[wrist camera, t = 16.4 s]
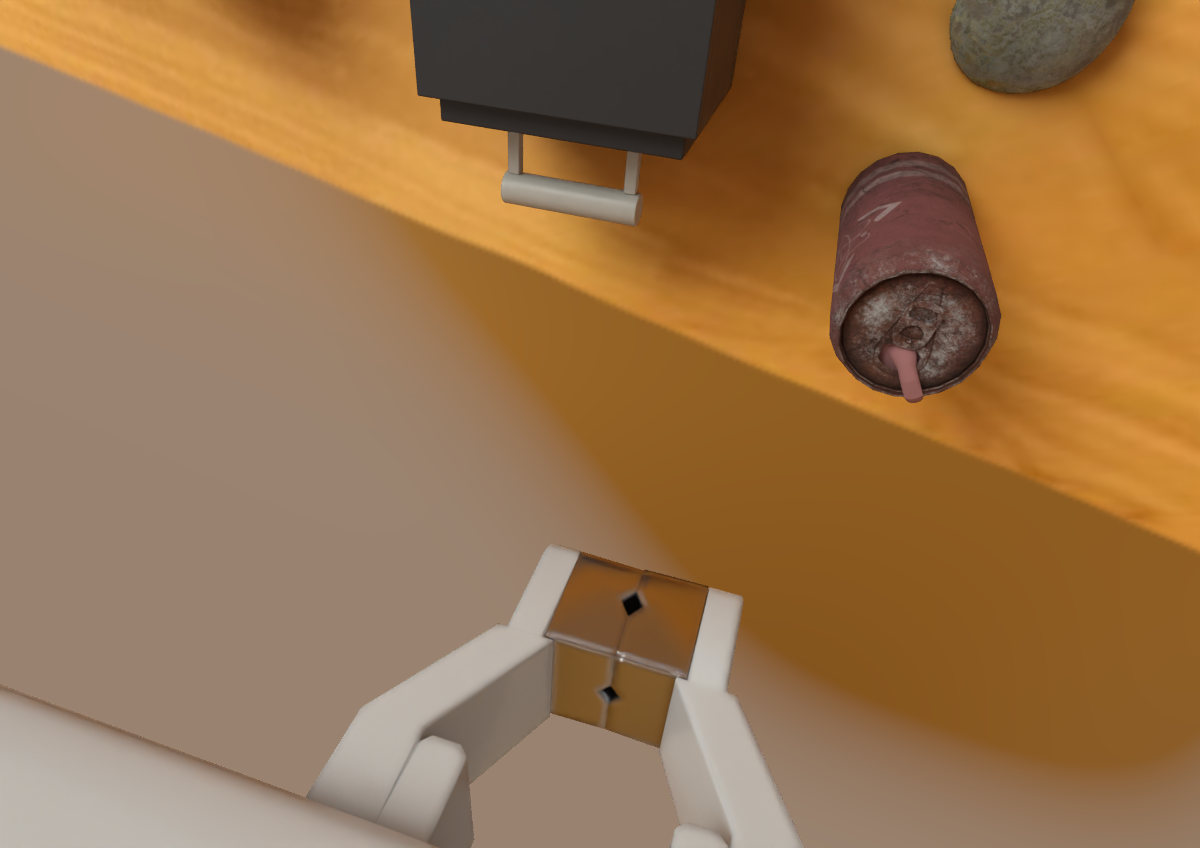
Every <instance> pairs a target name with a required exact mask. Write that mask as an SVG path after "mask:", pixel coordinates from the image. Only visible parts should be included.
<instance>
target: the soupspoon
mask: <svg viewBox="0 0 1200 848" xmlns="http://www.w3.org/2000/svg"><path fill="white" fill-rule="evenodd" d="M1134 1H1135V0H957V1H956V5H955V6H954V8H953V11H952V13H951V19H950V40H951V50H952V52H953V55H954V59H955V61H956V62H957V64H958V65H959V67H960V68H961V70H962V71H963V73H964V74H966V75H967V77H968V78H969V79H970V80H971V81H972V82H974V83H976V84H978V85H979V86H982V87H984V88H987V89H990V90H992V91H996V92H1004V93H1030V92H1036V91H1040V90H1044V89H1047V88H1050V87H1053V86H1056V85H1058V84H1060V83H1062V82H1064V81H1066V80H1068V79H1070V78H1071V77H1073V76H1075V75H1076V74H1078V73H1079V72H1080V71H1082V70H1083V69H1084V68H1086V67H1087V66H1088V65H1089V64H1090V63H1092V62H1093V61H1094V60H1095V59H1096V58H1097V57H1098V56H1099V55H1100V54H1101V53H1102V52H1103V51H1104V49H1105V48H1106V47H1107V46H1108V45H1109V43H1110V42H1111V41H1112V40H1113V39H1114V37H1115V36H1116V35H1117V34H1118V32H1119V30H1120V28H1121V27H1122V25H1123V24H1124V22H1125V20H1126V19H1127V17H1128V15H1129V13H1130V10H1131V9H1132V6H1133V4H1134Z"/></svg>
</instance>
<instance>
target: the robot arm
mask: <svg viewBox="0 0 1200 848" xmlns="http://www.w3.org/2000/svg"><path fill="white" fill-rule="evenodd" d="M707 591H708V592H707ZM742 607H743V597H742V596H739V595H736V594H732V593H728V592H725V591H721V590H718V589H714V588H709V589H708V586H705V585H701V584H698V583H694V582H690V581H686V580H682V579H678V578H675V577H671V576H667V575H663V574H660V573H656V572H652V571H648V570H641V569H637V568H634V567H631V566H627V565H624V564H621V563H618V562H614V561H611V560H607V559H604V558H601V557H598V556H595V555H591V554H588V553H585V552H581V551H577V550H574V549H570V548H567V547H564V546H560V545H557V544H553V543H551V544H550V545H549V546H548V547H547V548H546V550H545V551H544V553H543V555H542V557H541V559H540V561H539V563H538V565H537V567H536V569H535V571H534V573H533V575H532V577H531V579H530V581H529V583H528V585H527V588H526V590H525V592H524V594H523V596H522V598H521V600H520V602H519V604H518V606H517V608H516V610H515V612H514V614H513V616H512V618H511V620H510V622H509V624H508V626H506V625H502V624H497V625H495V626H494V627H492V628H490V629H489V630H487V631H485V632H484V633H482V634H480V635H479V636H477V637H476V638H474V639H472V640H471V641H469V642H467V643H466V644H464V645H463V646H461V647H459V648H458V649H456V650H454V651H453V652H451V653H449V654H448V655H447V656H445V657H443V658H441V659H440V660H438V661H436V662H435V663H433V664H432V665H430V666H428V667H427V668H425V669H423V670H422V671H420V672H418V673H417V674H415V675H414V676H412V677H410V678H409V679H407V680H405V681H404V682H402V683H401V684H399V685H397V686H396V687H394V688H392V689H391V690H389V691H388V692H386V693H384V694H383V695H381V696H379V697H378V698H376V699H374V700H373V701H371V702H370V703H368V704H366V705H365V706H363V707H362V708H361V709H360V711H359V712H358V714H357V716H356V717H355V719H354V720H353V722H352V724H351V725H350V727H349V728H348V730H347V732H346V733H345V735H344V736H343V738H342V740H341V741H340V743H339V745H338V746H337V748H336V749H335V751H334V752H333V754H332V756H331V757H330V759H329V761H328V762H327V764H326V766H325V767H324V769H323V770H322V772H321V774H320V775H319V777H318V778H317V780H316V781H315V783H314V785H313V786H312V788H311V790H310V791H309V793H308V794H307V796H306V797H303V796H300V795H297V794H295V793H292V792H289V791H287V790H284V789H281V788H278V787H276V786H273V785H270V784H268V783H265V782H262V781H260V780H257V779H254V778H251V777H249V776H246V775H243V774H241V773H238V772H235V771H233V770H230V769H227V768H225V767H222V766H219V765H217V764H214V763H211V762H208V761H206V760H203V759H200V758H198V757H195V756H192V755H189V754H187V753H184V752H181V751H179V750H176V749H173V748H171V747H168V746H165V745H163V744H160V743H157V742H155V741H152V740H149V739H147V738H144V737H141V736H138V735H136V734H133V733H130V732H127V731H125V730H122V729H120V728H117V727H114V726H112V725H109V724H106V723H103V722H101V721H98V720H95V719H93V718H90V717H87V716H85V715H82V714H79V713H76V712H74V711H71V710H68V709H66V708H63V707H60V706H58V705H55V704H52V703H50V702H47V701H44V700H42V699H39V698H36V697H33V696H31V695H28V694H25V693H23V692H20V691H17V690H15V689H12V688H9V687H7V686H4V685H1V684H0V848H471V846H472V843H473V841H474V833H473V821H472V810H471V799H470V787H469V785H470V784H471V783H472V782H473V781H474V780H475V779H477V778H478V777H479V776H480V775H481V774H483V773H484V772H485V771H486V770H487V769H488V768H490V767H491V766H492V765H493V764H494V763H496V762H497V761H498V760H499V759H500V758H501V757H503V756H504V755H505V754H506V753H507V752H509V751H510V750H511V749H512V748H513V747H514V746H516V745H517V744H518V743H519V742H520V741H521V740H523V739H524V738H525V737H526V736H527V735H528V734H530V733H531V732H532V731H533V730H534V729H536V728H537V727H538V726H539V725H540V724H542V723H543V722H544V721H545V720H546V719H547V718H548V717H550V713H552V714H556V715H559V716H563V717H566V718H570V719H573V720H576V721H579V722H583V723H586V724H590V725H593V726H597V727H600V728H603V729H606V730H609V731H612V732H615V733H618V734H620V735H623V736H626V737H629V738H632V739H635V740H637V741H640V742H643V743H646V744H649V745H652V746H655V747H657V748H660V749H659V752H660V756H661V760H662V764H663V767H664V771H665V774H666V778H667V782H668V785H669V789H670V793H671V796H672V800H673V803H674V807H675V811H676V814H677V818H678V821H679V825H680V826H679V827H677V828H676V829H675V831H674V834H673V838H672V841H671V844H670V848H804V846H803V844H802V841H801V839H800V837H799V835H798V832H797V830H796V828H795V826H794V823H793V821H792V819H791V816H790V814H789V812H788V810H787V807H786V805H785V803H784V801H783V798H782V797H781V794H780V792H779V789H778V787H777V785H776V783H775V780H774V778H773V776H772V774H771V771H770V769H769V767H768V765H767V762H766V760H765V758H764V755H763V753H762V751H761V749H760V746H759V744H758V742H757V740H756V737H755V735H754V733H753V731H752V728H751V726H750V724H749V721H748V719H747V717H746V715H745V713H744V710H743V708H742V706H741V703H740V701H739V699H738V697H737V696H736V695H733V694H730V693H727V690H728V684H729V679H730V673H731V668H732V662H733V657H734V651H735V646H736V640H737V634H738V629H739V624H740V618H741V613H742Z"/></svg>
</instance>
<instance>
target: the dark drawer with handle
mask: <svg viewBox="0 0 1200 848" xmlns="http://www.w3.org/2000/svg"><path fill="white" fill-rule="evenodd" d="M440 106H441V119H442V120H443V121H448V122H454V123H460V124H466V125H472V126H478V127H484V128H490V129H496V130H502V131H508V171H506V173H505V174H504V176H503V180H502V184H501V196H502V200H503V201H504V202H505V203H511V204H516V205H521V206H527V207H532V208H538V209H543V210H548V211H554V212H559V213H565V214H570V215H575V216H581V217H586V218H592V219H597V220H602V221H608V222H613V223H619V224H624V225H629V226H637V225H638V223H639V220H640V217H641V213H642V207H643V195H642V194H641V193H637V192H638V186H639V176H640V166H641V156H642V154H648V155H654V156H660V157H666V158H672V159H678V160H682V159H683V158H684V156H685V155H686V153H687V152H688V150H689V149H690V147H691V146H692V144H693V143H694V141H695V140H696V139H695V140H694V139H687V138H681V137H675V136H668V135H662V134H656V133H650V132H643V131H637V130H631V129H625V128H618V127H612V126H606V125H599V124H593V123H587V122H581V121H574V120H568V119H562V118H556V117H549V116H543V115H537V114H530V113H524V112H518V111H512V110H505V109H499V108H493V107H487V106H480V105H474V104H468V103H461V102H455V101H449V100H443V99H440ZM523 134H527V135H533V136H539V137H545V138H551V139H557V140H563V141H569V142H575V143H581V144H587V145H593V146H599V147H605V148H611V149H617V150H623V151H627V160H626V172H625V183H624V190H620V189H614V188H609V187H603V186H597V185H592V184H586V183H580V182H575V181H569V180H563V179H558V178H552V177H546V176H540V175H535V174H529V173H523V172H522V171H523Z"/></svg>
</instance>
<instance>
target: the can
mask: <svg viewBox="0 0 1200 848" xmlns="http://www.w3.org/2000/svg"><path fill="white" fill-rule="evenodd" d="M1000 319H1001V313H1000V308H999V304H998V299H997V295H996V291H995V287H994V284H993V280H992V277H991V273H990V270H989V266H988V263H987V259H986V256H985V252H984V249H983V245H982V242H981V238H980V235H979V231H978V228H977V224H976V221H975V217H974V214H973V210H972V207H971V203H970V200H969V196H968V193H967V189H966V186H965V183H964V181H963V180H962V178H961V177H960V175H959V174H958V173H957V171H956V170H955V168H954V167H952V166H951V165H950V164H948V163H947V162H945V161H944V160H942V159H941V158H939V157H937V156H933V155H929V154H925V153H921V152H909V153H897V154H894V155H891V156H889V157H886V158H883V159H880V160H878V161H876V162H875V163H873V164H872V165H871V166H869V167H868V168H866V169H865V170H864V171H862V172H861V173H860V174H859V175H858V177H857V178H856V179H855V180H854V182H853V183H852V184H851V185H850V187H849V188H848V190H847V193H846V195H845V198H844V201H843V203H842V206H841V215H840V225H839V235H838V245H837V255H836V264H835V274H834V284H833V294H832V303H831V313H830V339H831V342H832V345H833V348H834V351H835V354H836V356H837V357H838V359H839V360H840V361H841V362H842V363H843V365H844V366H845V367H846V368H847V370H848V371H849V372H850V373H851V374H852V375H853V376H854V377H855V378H856V379H857V380H859V381H860V382H862V383H863V384H865V385H866V386H868V387H869V388H871V389H873V390H875V391H878V392H882V393H885V394H888V395H892V396H900V397H904V398H905V399H906V400H907V401H908V402H910V403H916V402H919V401H921V400H922V399H923V396H925V395H930V394H935V393H940V392H942V391H944V390H947V389H949V388H951V387H953V386H955V385H957V384H959V383H961V382H962V381H964V380H965V379H966V378H967V377H968V376H969V375H970V374H972V373H973V372H974V371H975V370H976V369H977V368H978V367H979V366H980V364H981V363H982V361H983V360H984V359H985V358H986V356H987V354H988V353H989V351H990V349H991V348H992V346H993V344H994V343H995V341H996V339H997V335H998V330H999V325H1000Z"/></svg>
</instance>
